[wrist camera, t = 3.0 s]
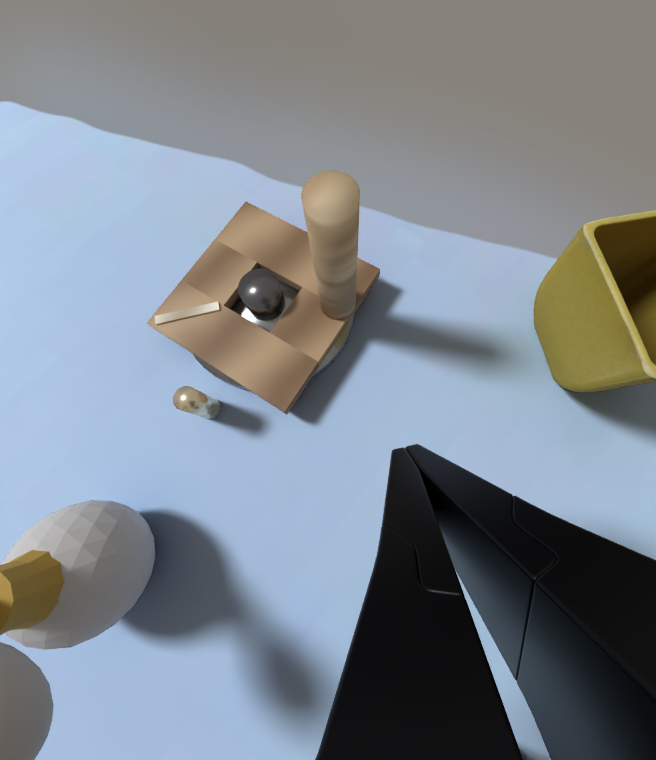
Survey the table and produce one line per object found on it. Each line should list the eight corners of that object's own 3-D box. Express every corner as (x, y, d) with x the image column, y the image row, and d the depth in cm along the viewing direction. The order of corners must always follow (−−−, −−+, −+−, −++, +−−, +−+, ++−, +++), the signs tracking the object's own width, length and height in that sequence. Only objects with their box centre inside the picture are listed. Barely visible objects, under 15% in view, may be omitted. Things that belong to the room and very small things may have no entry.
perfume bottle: (112, 477, 24) (-114, 488, 12) (222, 542, 22) (80, 628, 10) (50, 577, 22) (-278, 700, 11) (162, 656, 20) (-81, 904, 9)
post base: (386, 282, 26) (392, 251, 22) (268, 461, 23) (252, 460, 19) (252, 214, 29) (237, 175, 25) (130, 366, 26) (91, 348, 22)
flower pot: (613, 286, 25) (753, 191, 16) (661, 393, 23) (853, 348, 14) (501, 305, 25) (581, 221, 17) (537, 413, 23) (652, 381, 14)
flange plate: (380, 277, 25) (402, 140, 15) (288, 415, 23) (234, 371, 12) (249, 210, 28) (187, 53, 17) (154, 328, 25) (13, 230, 15)
